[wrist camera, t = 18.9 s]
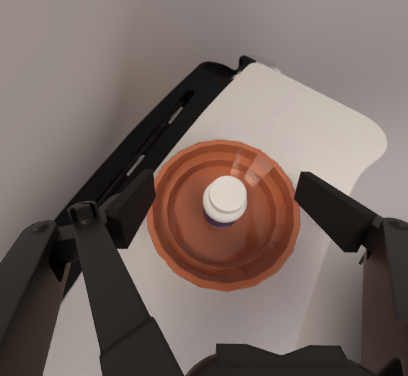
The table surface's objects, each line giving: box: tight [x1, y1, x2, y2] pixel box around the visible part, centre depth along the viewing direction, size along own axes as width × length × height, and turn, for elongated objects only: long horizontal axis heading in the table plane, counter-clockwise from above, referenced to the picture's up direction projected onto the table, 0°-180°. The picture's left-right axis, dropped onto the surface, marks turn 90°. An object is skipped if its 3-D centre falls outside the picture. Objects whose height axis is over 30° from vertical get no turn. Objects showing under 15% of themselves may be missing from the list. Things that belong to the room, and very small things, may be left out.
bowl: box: [147, 140, 300, 292], centre depth 22 cm, size 17×17×4 cm
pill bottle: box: [203, 176, 247, 229], centre depth 20 cm, size 5×5×8 cm
